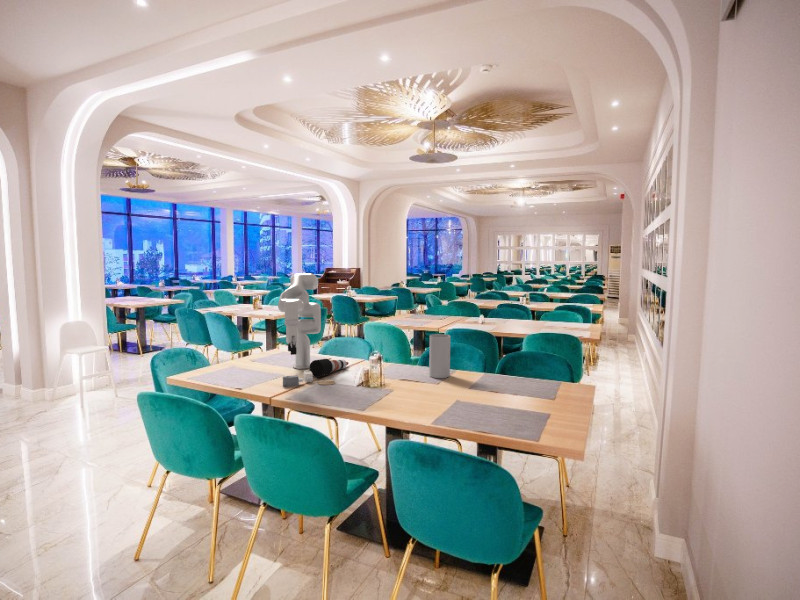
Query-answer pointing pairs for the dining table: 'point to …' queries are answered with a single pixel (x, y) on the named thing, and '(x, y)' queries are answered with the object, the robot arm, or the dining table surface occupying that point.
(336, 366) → the black capped bottle
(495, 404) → the dining table surface
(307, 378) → the cream plug
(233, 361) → the dining table surface
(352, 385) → the dining table surface
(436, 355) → the cylinder vase
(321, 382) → the cork coaster
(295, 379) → the grey plug
